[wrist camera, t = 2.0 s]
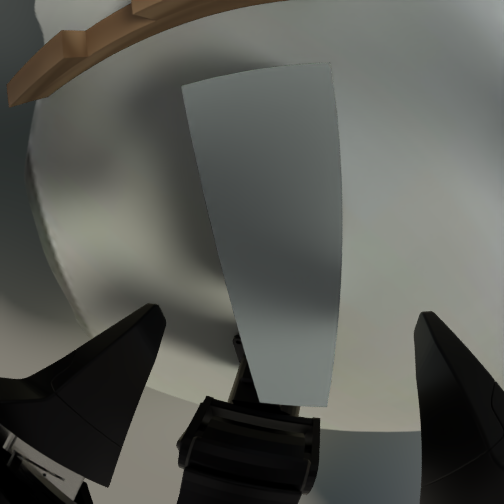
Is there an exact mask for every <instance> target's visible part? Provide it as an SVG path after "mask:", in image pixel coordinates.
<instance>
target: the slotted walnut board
mask: <svg viewBox="0 0 504 504" xmlns="http://www.w3.org/2000/svg"><path fill="white" fill-rule="evenodd" d="M278 1H287V0H131V2H132V3H131V4H129V5H127V6H125V7H124V8H122V9H120V10H118V11H116V12H115V13H113V14H111V15H110V16H108V17H106V18H105V19H103V20H101V21H100V22H98V23H97V24H95V25H94V26H92V27H91V28H89V29H88V30H86V31H70V30H61V31H60V32H59V33H58V34H57V35H56V36H54V37H53V38H52V39H51V40H50V41H49V42H48V43H46V44H45V45H44V46H43V47H42V48H41V49H40V50H39V51H38V52H37V53H36V54H35V55H34V56H33V57H32V58H31V59H30V60H29V61H28V62H27V63H26V64H25V65H24V66H23V67H22V68H21V69H20V70H19V71H18V72H17V74H16V75H15V76H14V77H13V78H12V79H11V80H10V82H9V83H8V84H7V94H8V102H9V107H13V106H16V105H20V104H23V103H27V102H30V101H34V100H38V99H42V98H46V97H48V96H50V95H51V94H52V93H54V92H55V91H56V90H58V89H59V88H60V87H62V86H63V85H65V84H66V83H67V82H69V81H70V80H72V79H73V78H75V77H76V76H78V75H79V74H81V73H82V72H84V71H86V70H87V69H89V68H90V67H92V66H94V65H95V64H97V63H99V62H101V61H102V60H104V59H106V58H108V57H109V56H111V55H113V54H115V53H117V52H119V51H121V50H123V49H125V48H127V47H129V46H131V45H133V44H135V43H137V42H139V41H141V40H144V39H146V38H148V37H150V36H153V35H155V34H157V33H160V32H162V31H165V30H168V29H170V28H173V27H176V26H178V25H181V24H184V23H187V22H190V21H193V20H196V19H199V18H203V17H206V16H210V15H213V14H217V13H221V12H225V11H229V10H233V9H238V8H242V7H247V6H252V5H258V4H264V3H271V2H278Z"/></svg>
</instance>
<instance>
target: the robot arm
mask: <svg viewBox="0 0 504 504" xmlns="http://www.w3.org/2000/svg"><path fill="white" fill-rule="evenodd" d="M165 327H166V319H165V317H164V315H163V313H162V311H161V309H160V307H159V305H157V304H152V303H148V304H146V305H144V306H143V307H141V308H140V309H138V310H136V311H135V312H133V313H132V314H130V315H129V316H127V317H125V318H124V319H122V320H121V321H119V322H118V323H116V324H115V325H113V326H111V327H110V328H108V329H107V330H105V331H104V332H102V333H101V334H99V335H97V336H96V337H94V338H93V339H91V340H90V341H88V342H87V343H85V344H83V345H82V346H81V347H79V348H77V349H76V350H74V351H73V352H71V353H70V354H68V355H66V356H65V357H63V358H62V359H60V360H58V361H57V362H55V363H53V364H51V365H50V366H48V367H46V368H44V369H42V370H41V371H39V372H37V373H35V374H33V375H31V376H29V377H27V378H24V379H9V378H1V377H0V504H93V501H92V499H91V496H90V492H89V490H88V486H87V483H86V482H84V479H85V478H87V479H89V480H91V481H93V482H96V483H98V484H100V485H103V486H105V487H107V488H108V487H109V485H110V482H111V479H112V476H113V473H114V470H115V467H116V464H117V461H118V458H119V455H120V452H121V449H122V446H123V443H124V440H125V437H126V434H127V432H128V429H129V427H130V423H131V421H132V418H133V416H134V413H135V410H136V408H137V405H138V403H139V400H140V397H141V394H142V392H143V390H144V387H145V385H146V382H147V380H148V377H149V375H150V372H151V370H152V367H153V365H154V362H155V360H156V357H157V353H158V350H159V347H160V343H161V340H162V337H163V334H164V330H165ZM233 344H234V347H235V350H236V353H237V356H238V359H239V362H240V366H239V369H238V372H237V375H236V378H235V381H234V384H233V387H232V390H231V393H230V396H229V399H228V402H224V401H220V400H216V399H214V398H213V397H210V396H206V398H205V400H204V402H203V403H200V405H199V408H198V410H197V412H196V413H195V415H194V417H193V419H192V421H191V423H190V424H189V426H188V428H187V429H186V431H185V432H184V433H183V434H182V436H181V437H180V439H179V440H178V441H177V445H176V446H177V448H178V450H179V458H178V465H179V467H180V468H183V469H184V472H183V477H182V483H181V488H180V494H179V497H178V501H177V504H298V502H299V500H300V497H301V495H302V494H306V495H307V494H308V493H309V492H310V491H311V489H312V487H313V485H314V482H315V479H316V476H317V471H318V465H319V448H320V447H319V446H320V418H314V417H313V418H305V417H298V416H299V410H300V406H293V405H280V404H270V403H261V402H260V401H259V398H258V395H257V391H256V388H255V385H254V382H253V378H252V375H251V372H250V368H249V365H248V361H247V358H246V355H245V351H244V348H243V344H242V341H241V337H240V335H236V336H234V339H233ZM414 345H415V363H416V381H417V389H418V398H419V408H420V421H421V440H422V477H421V495H420V504H504V391H503V390H502V388H501V387H500V386H499V385H498V383H497V382H496V381H495V380H494V379H493V377H492V376H491V375H490V374H489V372H488V371H487V370H486V369H485V368H484V366H483V365H482V364H481V363H480V362H479V361H478V359H477V358H476V357H475V356H474V355H473V354H472V353H471V351H470V350H469V349H468V348H467V347H466V346H465V345H464V344H463V342H462V341H461V340H460V339H459V338H458V337H457V336H456V335H455V334H454V333H453V332H452V331H451V330H450V329H449V327H448V326H447V325H446V324H445V323H444V322H443V321H442V320H441V319H440V318H439V317H438V316H437V315H436V314H435V313H434V312H432V311H426V312H421V313H420V315H419V318H418V321H417V324H416V327H415V330H414Z"/></svg>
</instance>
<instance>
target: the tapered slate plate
mask: <svg viewBox="0 0 504 504" xmlns="http://www.w3.org/2000/svg"><path fill="white" fill-rule="evenodd" d="M181 88H182V94H183V99H184V104H185V109H186V114H187V119H188V124H189V129H190V134H191V139H192V143H193V148H194V153H195V157H196V162H197V167H198V171H199V176H200V180H201V184H202V189H203V193H204V198H205V202H206V206H207V210H208V215H209V219H210V223H211V227H212V231H213V235H214V239H215V243H216V247H217V251H218V255H219V259H220V263H221V267H222V271H223V275H224V279H225V282H226V286H227V290H228V294H229V297H230V301H231V305H232V308H233V312H234V316H235V319H236V323H237V327H238V330H239V334H240V337H241V341H242V344H243V348H244V351H245V355H246V358H247V361H248V365H249V368H250V372H251V375H252V378H253V382H254V385H255V388H256V391H257V395H258V398H259V401H260V402H261V403H270V404H280V405H293V406H310V407H327V404H328V398H329V392H330V385H331V378H332V371H333V364H334V356H335V347H336V338H337V328H338V316H339V303H340V288H341V268H342V178H341V158H340V143H339V131H338V120H337V110H336V101H335V93H334V85H333V78H332V71H331V65H330V63H309V64H296V65H285V66H276V67H269V68H261V69H255V70H249V71H243V72H238V73H232V74H228V75H223V76H218V77H214V78H210V79H205V80H201V81H198V82H194V83H190V84H186V85H183V86H181Z"/></svg>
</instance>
